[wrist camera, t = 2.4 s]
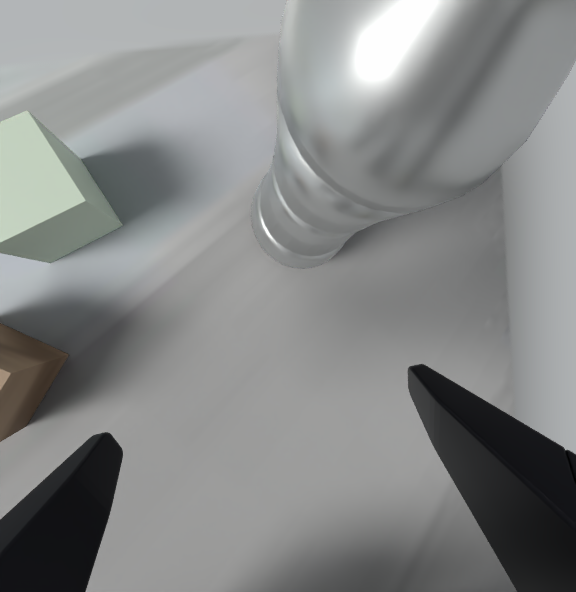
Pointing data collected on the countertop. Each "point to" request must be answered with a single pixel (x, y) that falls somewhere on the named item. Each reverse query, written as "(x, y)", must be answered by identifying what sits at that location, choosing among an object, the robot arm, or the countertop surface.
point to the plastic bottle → (399, 110)
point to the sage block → (46, 194)
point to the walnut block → (24, 377)
